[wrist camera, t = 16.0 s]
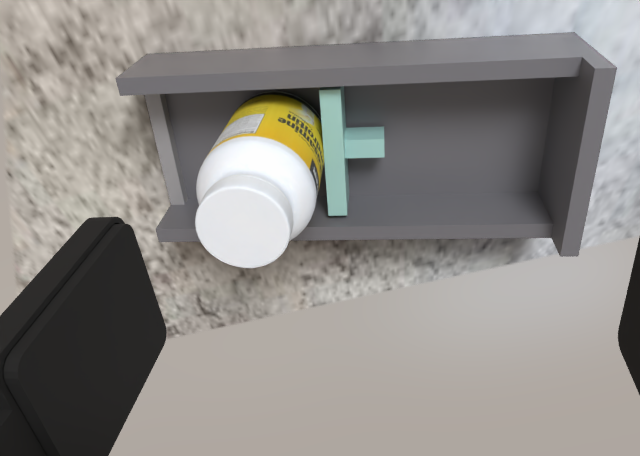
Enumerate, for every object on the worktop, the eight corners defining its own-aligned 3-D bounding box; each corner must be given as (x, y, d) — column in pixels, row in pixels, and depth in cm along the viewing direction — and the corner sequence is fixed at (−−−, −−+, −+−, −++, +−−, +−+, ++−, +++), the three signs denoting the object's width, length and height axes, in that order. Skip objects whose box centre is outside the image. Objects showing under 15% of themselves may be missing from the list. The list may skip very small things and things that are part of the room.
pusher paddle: (383, 71, 34) (383, 87, 31) (384, 191, 38) (385, 214, 36) (323, 74, 34) (319, 90, 32) (331, 193, 39) (328, 215, 36)
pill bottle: (332, 177, 38) (315, 283, 29) (239, 181, 39) (192, 285, 29) (323, 83, 35) (301, 166, 25) (221, 90, 36) (162, 173, 26)
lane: (574, 32, 33) (616, 67, 27) (547, 197, 39) (578, 256, 33) (146, 53, 36) (100, 90, 30) (181, 204, 42) (148, 259, 36)
